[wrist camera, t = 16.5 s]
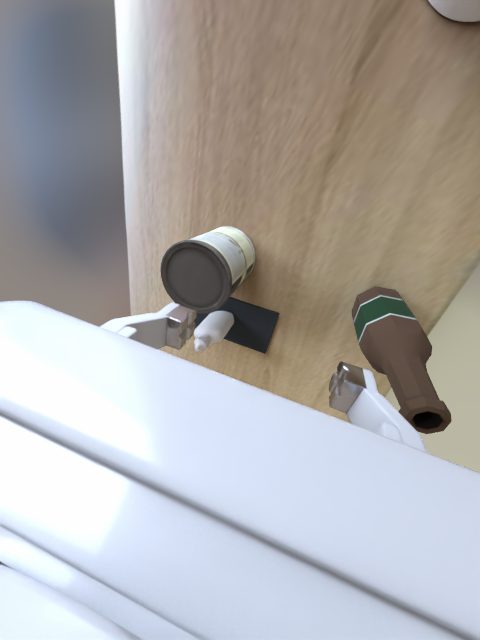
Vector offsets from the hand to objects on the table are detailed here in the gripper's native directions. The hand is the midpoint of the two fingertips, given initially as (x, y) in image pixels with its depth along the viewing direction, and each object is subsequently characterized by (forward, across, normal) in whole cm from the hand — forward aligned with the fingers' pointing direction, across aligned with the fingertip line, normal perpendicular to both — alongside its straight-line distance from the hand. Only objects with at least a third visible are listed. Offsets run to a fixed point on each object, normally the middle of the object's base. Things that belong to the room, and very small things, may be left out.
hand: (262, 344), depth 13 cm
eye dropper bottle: (+31, +11, +19) cm, 38 cm away
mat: (+31, +11, +19) cm, 38 cm away
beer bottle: (+31, -15, +7) cm, 35 cm away
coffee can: (+31, +12, +6) cm, 34 cm away
